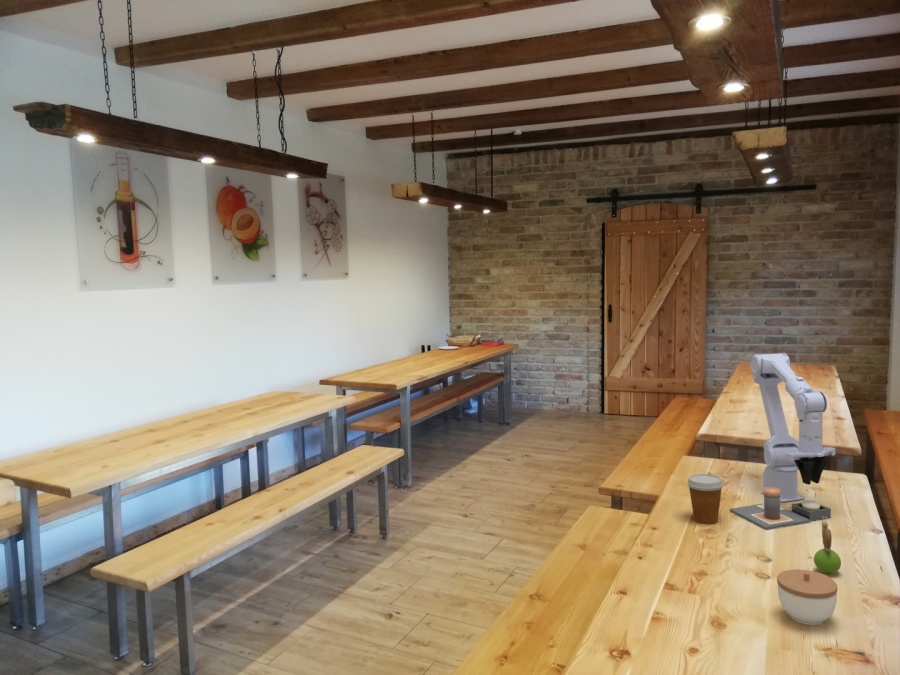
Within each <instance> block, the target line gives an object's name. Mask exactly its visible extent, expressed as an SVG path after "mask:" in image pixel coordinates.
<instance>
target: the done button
mask: <svg viewBox="0 0 900 675" xmlns="http://www.w3.org/2000/svg"><path fill="white" fill-rule="evenodd" d="M801 503H802V508H805V509H807V510H809V511H813V510H819V509H820V505H821V504H820V502H819V501H815V500H803V501H801Z"/></svg>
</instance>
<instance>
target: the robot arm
mask: <svg viewBox="0 0 900 675" xmlns="http://www.w3.org/2000/svg"><path fill="white" fill-rule="evenodd" d="M790 361H791V360H790V357H789V356H788V354H786V352H781V353H762V354H761V353H760V354H759V353H758V354H757V353H755V354H753V355H752V357H751V360H750V369H751V370H750V371H751V374H752V378H753V382H754V383H756V384H757V385H758V386H759V390H760V394H761V399H762V404H763V407H764V411H765V416H766V421H767V425H768V430H769V434H770V437H769V438H768V440H766V441H765V443H764V444H763V459H764V463H765V464H766V466H765V467H764V470H763V472H762V474H763V475H762V476H763V479H762V481H763V488H765V487H776V488H779V489H780V503H785V502H786V503H787V502H792V501H800V500H804V499H805V497H804V496H802V495H800V494H798V493H799V492H798V489H799V488H798V482H799V481H798V472H799V473H800V478H801V480H802V484H805V485H808V486H809V485H811V482H812V483H815V484H820V480H821V476H822V473H823V472H824V469H825V467H826V466H827V465H828V463H829V458H827V457H828V456H836V448H834V447H831V446H827V447H826V446H824V447H823V413H825V412H826V410H827V408H828V400H827V397H826V395H825V393H824V392H823V391H821V390H816V389H814V388H812V386H811V385H810V384H809V383H808V382H807V381H806V380H805V379H804V377H803V376H797V375H796V373H795V372H794V371H793V369H792V368H791V362H790ZM782 382H783V383H784V387H785V388H784V390H785V391H786V392H787V393H788V394H789V396H790V397H791V398H792V399H793V402H794V407H795V410H796V417H797V419H798V439H796V438H795V437H794V436H791V435H790V433H789V429H788V426H787V420H786V418H785V417H786V416H785V412H784V410H783V409H784V408H783V405H782V400H781V396H780V392H779V388H778V384H780V383H782ZM825 456H827V457H825ZM763 488H762V489H763ZM760 493H761V494H763V495H764V491H763V490H761V491H760Z"/></svg>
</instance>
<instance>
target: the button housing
mask: <svg viewBox="0 0 900 675" xmlns="http://www.w3.org/2000/svg"><path fill="white" fill-rule="evenodd" d="M791 511H792V512H794V513H796V514H798V515H800V516H803V517H805V518H807V519H809V520H810V522H815V521H821V520H822V521H823V520H827V519H831V517H832V514H831V511H832V510H831V508H829V507H827V506H825V505H822V504H820V509H819V510H813V511H809V510H807V509H805V508H802V502H797V503H791ZM822 516H823V517H824V519H822ZM825 517H827V519H825Z"/></svg>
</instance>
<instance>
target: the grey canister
mask: <svg viewBox="0 0 900 675" xmlns="http://www.w3.org/2000/svg"><path fill="white" fill-rule="evenodd" d="M762 489H763V490H762V491H764V494H763V503H764V517H765V518H766V519H770V520H778V519H780V507H781V501H780V489H779V488H776V487H765V488H762Z"/></svg>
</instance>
